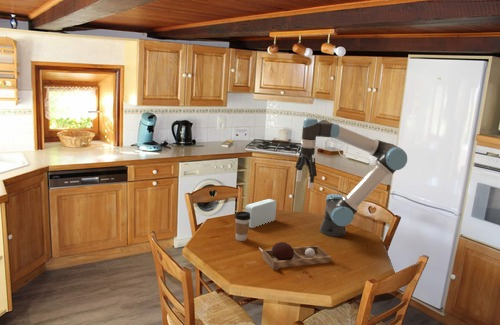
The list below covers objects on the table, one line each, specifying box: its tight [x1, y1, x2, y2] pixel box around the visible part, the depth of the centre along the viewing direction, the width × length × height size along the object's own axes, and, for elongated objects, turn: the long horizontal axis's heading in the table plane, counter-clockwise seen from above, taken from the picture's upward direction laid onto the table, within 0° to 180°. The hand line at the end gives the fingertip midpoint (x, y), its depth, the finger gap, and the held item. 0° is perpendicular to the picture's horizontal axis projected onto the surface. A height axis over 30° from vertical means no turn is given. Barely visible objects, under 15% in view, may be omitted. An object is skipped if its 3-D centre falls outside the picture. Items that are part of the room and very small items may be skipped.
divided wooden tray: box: [261, 245, 332, 271], centre depth 221 cm, size 31×14×4 cm, turn 110°
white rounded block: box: [244, 198, 278, 229], centre depth 270 cm, size 23×6×13 cm, turn 138°
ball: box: [305, 248, 315, 258], centre depth 224 cm, size 5×5×5 cm
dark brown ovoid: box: [271, 241, 294, 261], centre depth 218 cm, size 9×12×9 cm
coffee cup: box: [234, 211, 250, 242], centre depth 243 cm, size 8×8×15 cm
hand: (304, 184), depth 245 cm, fingers open, 13 cm apart
